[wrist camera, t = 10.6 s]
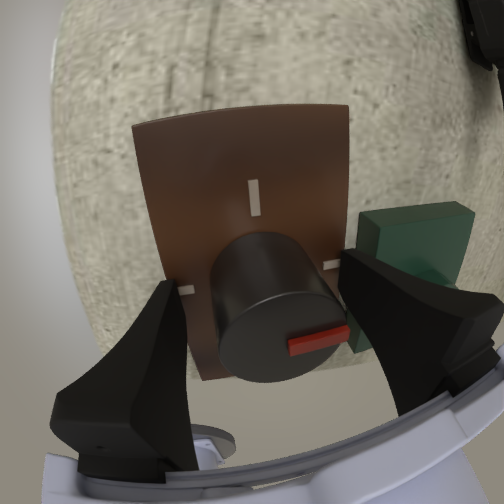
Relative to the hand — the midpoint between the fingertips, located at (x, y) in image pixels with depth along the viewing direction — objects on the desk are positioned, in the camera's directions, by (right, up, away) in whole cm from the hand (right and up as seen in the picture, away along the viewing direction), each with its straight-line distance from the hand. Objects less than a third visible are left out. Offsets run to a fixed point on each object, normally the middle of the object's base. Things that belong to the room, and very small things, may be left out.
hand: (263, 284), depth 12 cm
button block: (+10, 0, +6) cm, 12 cm away
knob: (0, 0, 0) cm, 1 cm away
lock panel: (-1, +2, +3) cm, 4 cm away
